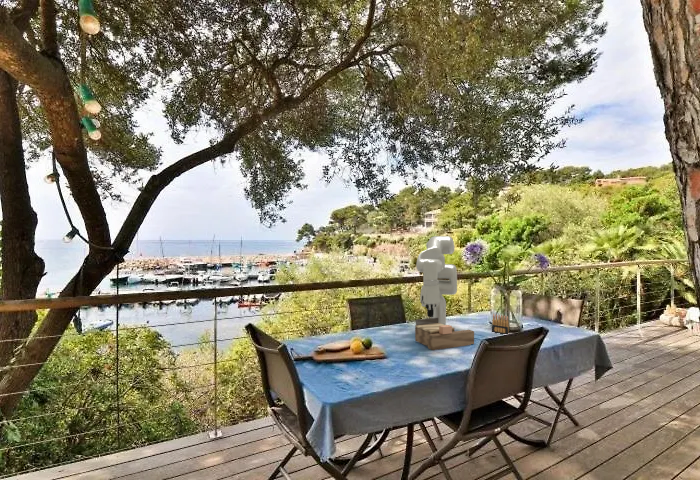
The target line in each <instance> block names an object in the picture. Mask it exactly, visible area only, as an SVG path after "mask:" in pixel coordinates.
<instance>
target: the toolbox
mask: <svg viewBox="0 0 700 480" xmlns="http://www.w3.org/2000/svg"><path fill="white" fill-rule="evenodd" d="M414 328H415V329H414V340H415V342H417V343H419V344H422V345H423V346H426V347H427V349H428V350H431V351H437V350H445V349H452V348H458V347H464V346H472V345H471V344H474V345H475V331H474V330H472V329H463V330H452V333H451V334H440V333H439V332H433V333H430V332H428V331H425V330H422V329H420V328H417V327H415V326H414Z"/></svg>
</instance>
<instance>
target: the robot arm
mask: <svg viewBox="0 0 700 480" xmlns="http://www.w3.org/2000/svg"><path fill="white" fill-rule="evenodd" d="M425 247H426V249H425V250H423V251H421V252H420V253H419V254H418V256H417V258H416V259H417V260H416V263H415V265H416V271H418V272H419V273H423V283H422V284H423V285H422V286H421V288H420V297H419V298H420V303H421V304H420V305H421V307H424V308H425V309H426V310H427V311H426V315H427V317H429V318H438V323H441V324H444V325H447V300H446V299H445V297H444V295H449V296H452V295H453V296H454V295H456V294H457V292H458V271H457V267H456V265H455V264H452V263H451V264H450V263H449V264H448V263H446V260H445V259H446V257H445V255H452V254H454V253H455V247H456V246H455V242H454V240H453V237H451V236H450V235H435V236H431V237H430V238H429V240H428V241H427V242H426V244H425Z"/></svg>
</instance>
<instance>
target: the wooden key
mask: <svg viewBox="0 0 700 480" xmlns="http://www.w3.org/2000/svg"><path fill="white" fill-rule="evenodd" d="M452 327H453V326H452V325H450V324H446V325H442V326H439V333H440V334H451V333H452Z"/></svg>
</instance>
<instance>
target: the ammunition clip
mask: <svg viewBox="0 0 700 480" xmlns="http://www.w3.org/2000/svg"><path fill="white" fill-rule="evenodd" d="M491 324H492V325H491V333H492V332H495V333H494V334H497V333H500V334H499V335H502V336H504V335H503V334H508V333H509V334H510V325H509V324H510V323H509V316H508V315H505V314H504V316H503V314H501V316H500V314H497V313H496V314H495V313H493V315H492V323H491Z"/></svg>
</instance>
